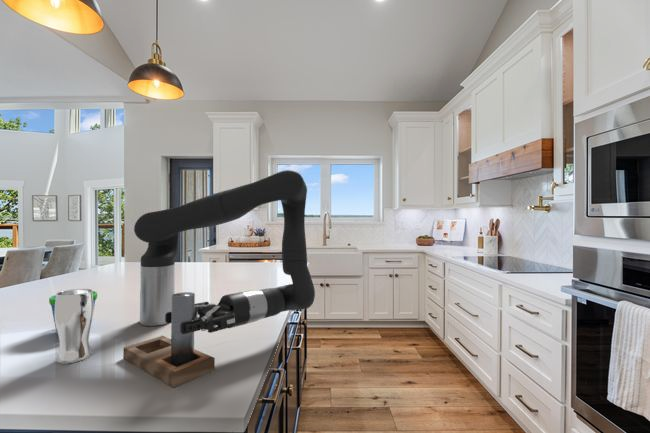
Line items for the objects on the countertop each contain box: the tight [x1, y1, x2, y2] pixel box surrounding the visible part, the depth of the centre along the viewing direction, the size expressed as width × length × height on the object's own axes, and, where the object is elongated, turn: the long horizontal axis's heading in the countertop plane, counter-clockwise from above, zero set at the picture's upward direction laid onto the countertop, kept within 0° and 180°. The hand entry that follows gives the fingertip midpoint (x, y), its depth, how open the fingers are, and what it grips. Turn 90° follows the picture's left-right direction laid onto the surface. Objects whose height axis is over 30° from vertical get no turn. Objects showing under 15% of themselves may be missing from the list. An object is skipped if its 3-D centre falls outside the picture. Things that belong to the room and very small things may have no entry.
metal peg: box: [170, 291, 196, 367], centre depth 68 cm, size 4×4×16 cm
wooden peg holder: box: [122, 335, 216, 388], centre depth 71 cm, size 21×9×3 cm, turn 54°
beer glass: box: [54, 288, 94, 365], centre depth 74 cm, size 7×7×15 cm
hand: (173, 323), depth 66 cm, fingers open, 8 cm apart
